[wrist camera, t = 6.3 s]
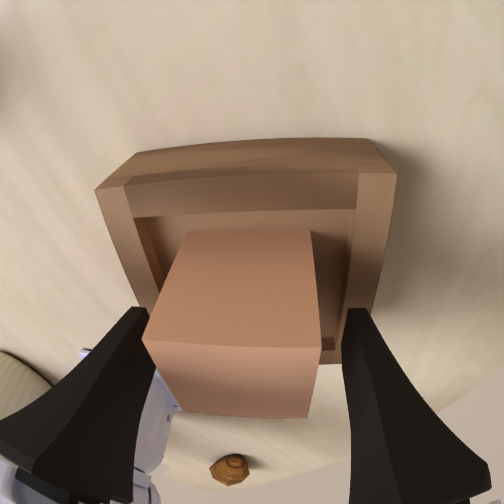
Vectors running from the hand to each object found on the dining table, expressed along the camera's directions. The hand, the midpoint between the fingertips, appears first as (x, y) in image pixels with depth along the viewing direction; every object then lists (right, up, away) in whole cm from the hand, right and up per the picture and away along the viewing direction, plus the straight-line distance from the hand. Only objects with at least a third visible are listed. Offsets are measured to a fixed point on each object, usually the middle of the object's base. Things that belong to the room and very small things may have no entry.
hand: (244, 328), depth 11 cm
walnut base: (0, +3, +4) cm, 5 cm away
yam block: (0, +2, +2) cm, 2 cm away
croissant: (-3, -32, +32) cm, 45 cm away
